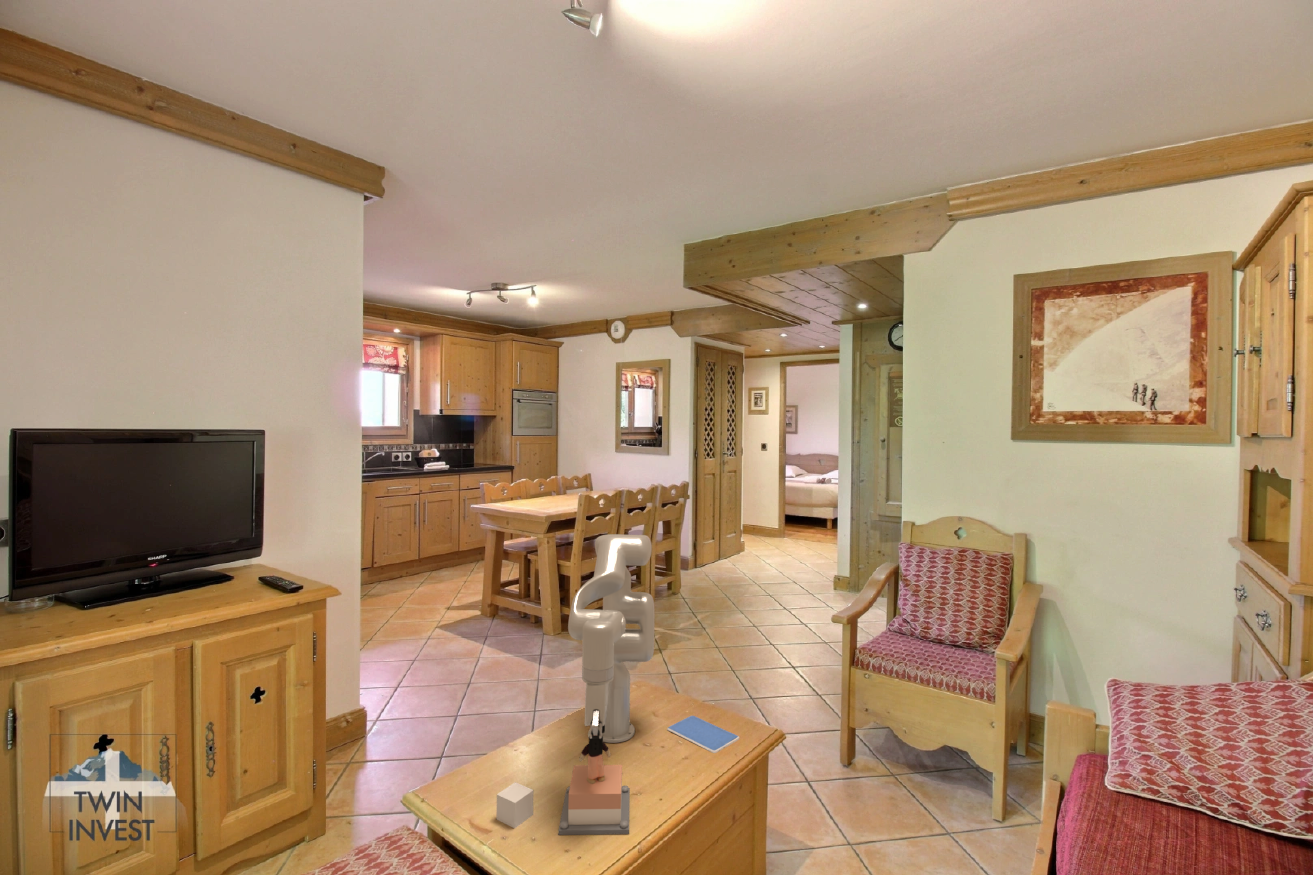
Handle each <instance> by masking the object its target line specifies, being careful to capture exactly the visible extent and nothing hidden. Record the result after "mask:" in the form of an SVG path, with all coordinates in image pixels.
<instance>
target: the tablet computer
mask: <svg viewBox="0 0 1313 875" xmlns="http://www.w3.org/2000/svg"><path fill="white" fill-rule="evenodd" d="M666 731H668V732H671V733H673V734H675V735H677V736H679V737H681V738H683V739H685V740H687V741H689V742H690V743H693V744H694V745H696V746H699V747H701V749H702V748H703V749H704V750H707V751H708V752H710V753H712V754H716V753H718V752H720V751H722V750H723V749H725V748H727V747H729V746H731V745H733V744H734V743H735V742H738V741H739V740H740V736H739V735H737V734H735V733H733V732H730V731H728V730H726V729H724V728H721V727H719V726H717V725H715V724H713V723H710V722H709V721H707V720H704V719H702V718H700V717H697V716H696V715H689V716H688V717H685V718H683V719H682V720H680V721H677V722H676V723H673V724H672V725H670V726H667V728H666Z"/></svg>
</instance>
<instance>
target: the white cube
mask: <svg viewBox="0 0 1313 875" xmlns="http://www.w3.org/2000/svg"><path fill="white" fill-rule="evenodd" d="M532 816H534V789H532V788H529V787H527V786H525V785H524V784H523V785H522V784H520V783H518V782H516V781H514V782H513V783H512V784H510V785H509V786H507V787H505V788H504V789H502V790H501V791H499V792H498V793H497V794H496V820H497V821H498V822H501V823H502V824H505V825H506V826H509V827H511V828H513V829H516V828H518V827H519V826H520V825H521V824H523V823H524V822H525V821H527V820H529V818H531V817H532Z"/></svg>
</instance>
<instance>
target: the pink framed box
mask: <svg viewBox="0 0 1313 875" xmlns="http://www.w3.org/2000/svg"><path fill="white" fill-rule="evenodd" d="M604 775H605V780H604V781H601V782H600V781H598V779H597V778H595V780H596V783H594V784H590V783H589V782H588V781H587V778H588V764H578V765H577V764H575V765H573V770H572V774H571V780H570V785H569V786H568V787H567V788H566V789H565V793H564V800H563V805H562V810H561V814H560V819H559V825H558V830H557V831H558V832H557V834H558V836H580V835H581V836H583V835H585V836H586V835H589V836H591V835H593V836H594V835H630V809H631V808H630V805H631V804H630V802H631V801H630V799H631V798H630V797H631V794H630V791H631V787H629V786H628V785H623V781H622V780H623V764H604Z"/></svg>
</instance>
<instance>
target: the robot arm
mask: <svg viewBox="0 0 1313 875" xmlns="http://www.w3.org/2000/svg"><path fill="white" fill-rule="evenodd" d="M594 547H595V548H594V549H595V554H596V559H595V560H596V561H595V566H594V573H593V576H592V578H590V579H589V580H587V581H586V582H585V583H584V584H583V585H582V586H581V587H580V588H579V589H578V590H577V592H576V593H575V595H574V596H573V599H572V602H571V607H570V611H569V616H568V622H567V623H568V624H567V625H568V626H567V629H568V630H567V631H568V633H569V636H570V637H571V638H572V639H574V640H576V641H582V642H581V643H582V644H581V645H582V646H581V647H582V648H581V649H582V653H581V654H582V660H581V662H582V663H581V666H582V668H581V670H582V671H581V679H582V681H583V682H584V683H585V693H584V694H585V697H584V701H585V702H584V726H585V727H588V726H589V729H590V737H589V738H588V744H589V754H590V755H603V754H604V751H603V742H604V743H609V744H610V743H611V744H613V743H615V744H617V743H622V742H626V741H628V740H631V739H632V738H633V737H634V735H635V726H634V725H633V723H631V722H630V721H631V719H630V718H631V673H630V670H629V669H628V667H627V665H626V664H625V663H631V662H632V663H634V662H635V663H646V662H650V661H651V660H652V659H653V657H654V651H655V611H656V610H655V601H654V598H653V595H651V593H648V592H644V591H643V592H642V591H632V588H631V587H632V575H631V572H630V570H629V569H628V567H627V566H634V567H635V566H636V567H637V566H638V567H639V566H640V567H641V566H646V565H647V564H648V562H649V561H650V559H651V556H652V548H653V547H652V541H651V539H650V537H649V536H648V535H645V534H618V533H615V534H610V533H609V534H603V535H600V536H598V537H596V540H595V542H594ZM599 599H602V609H588V608H587V609H585V608H586V607H587V606H588V605H589V604H591V603H592V602H595V601H598V600H599ZM627 624H628V625H637V626H639V628H626V627H627ZM598 727H600V731H599V730H598ZM589 754H588V755H589Z"/></svg>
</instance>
